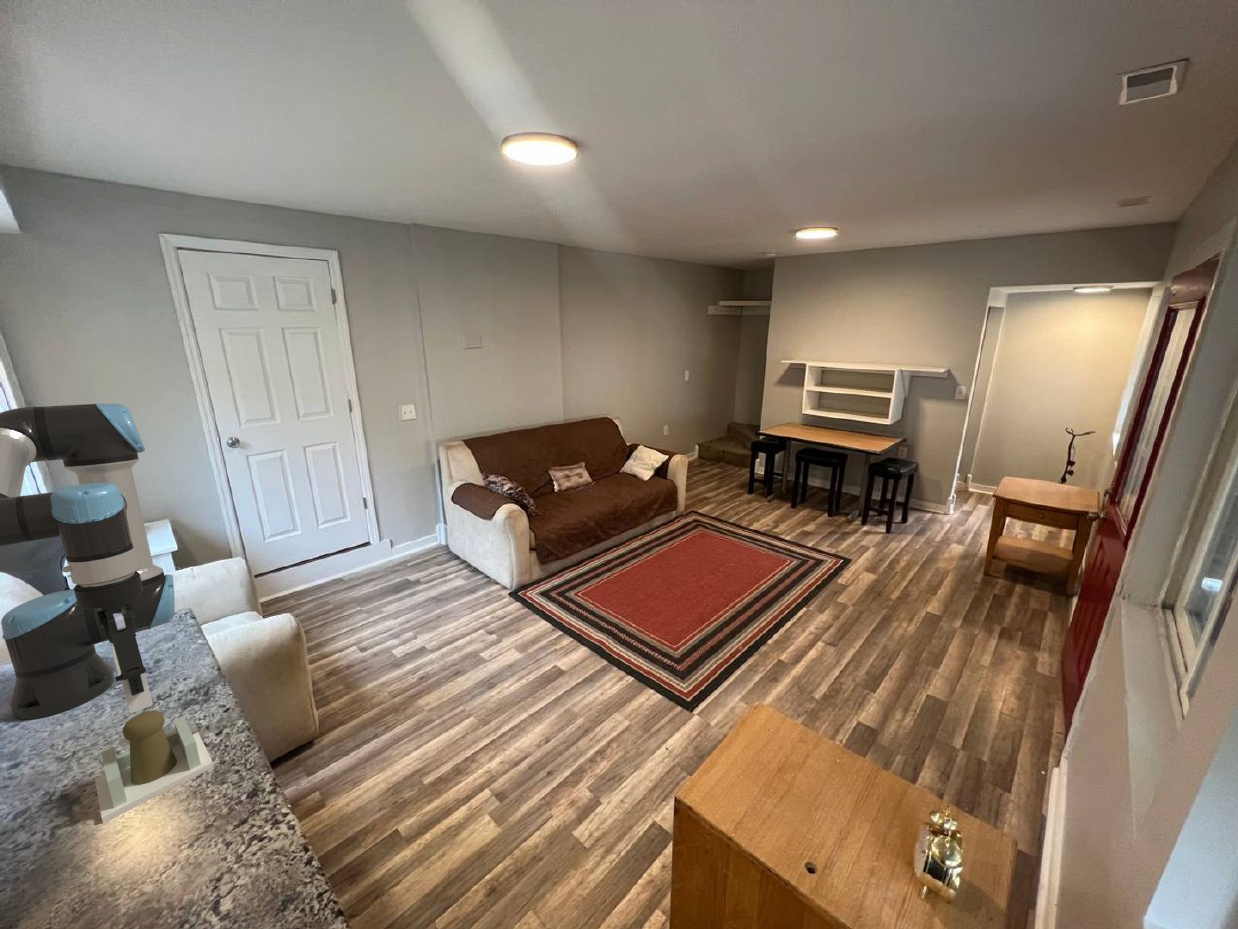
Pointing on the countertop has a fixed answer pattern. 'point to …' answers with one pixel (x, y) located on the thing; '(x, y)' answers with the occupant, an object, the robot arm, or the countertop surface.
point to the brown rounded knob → (148, 747)
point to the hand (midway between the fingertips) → (135, 691)
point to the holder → (125, 795)
